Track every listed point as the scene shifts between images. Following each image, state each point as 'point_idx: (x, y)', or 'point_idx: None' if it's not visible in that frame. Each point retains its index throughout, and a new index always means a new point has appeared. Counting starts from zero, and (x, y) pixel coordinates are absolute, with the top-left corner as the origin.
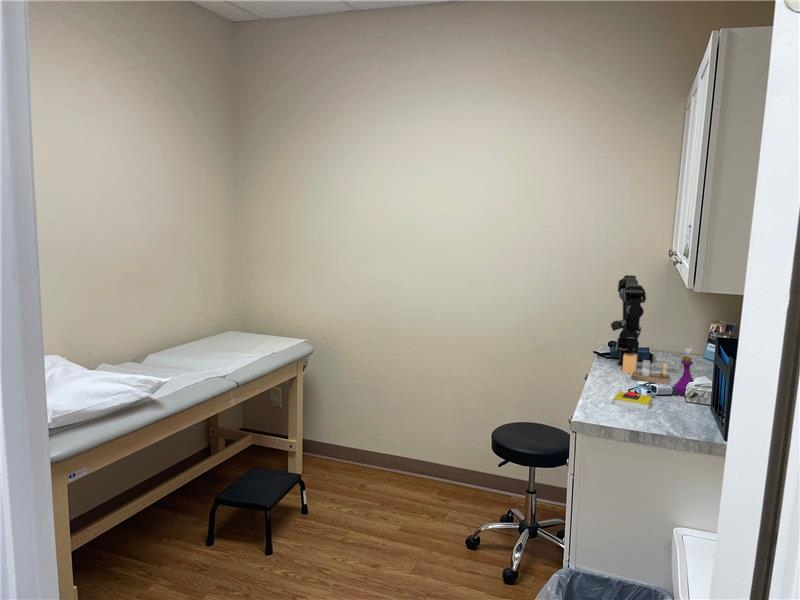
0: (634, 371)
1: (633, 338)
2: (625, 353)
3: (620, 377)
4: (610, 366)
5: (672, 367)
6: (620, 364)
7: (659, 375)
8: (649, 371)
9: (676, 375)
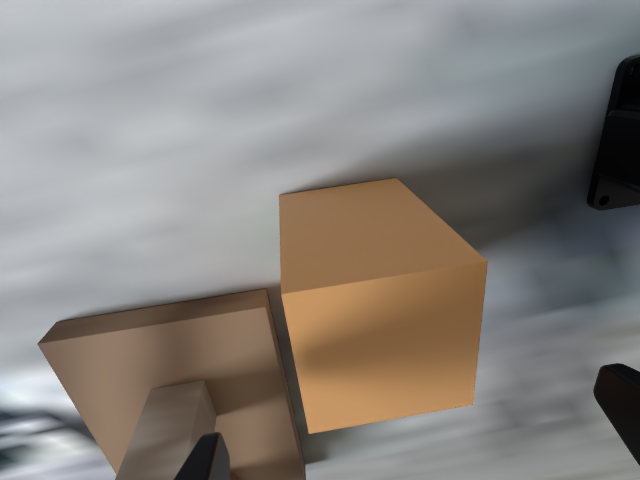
0: (255, 314)
1: None
2: (456, 280)
3: (62, 231)
4: (511, 4)
5: None
6: (614, 95)
7: (247, 459)
8: None
9: (417, 465)
